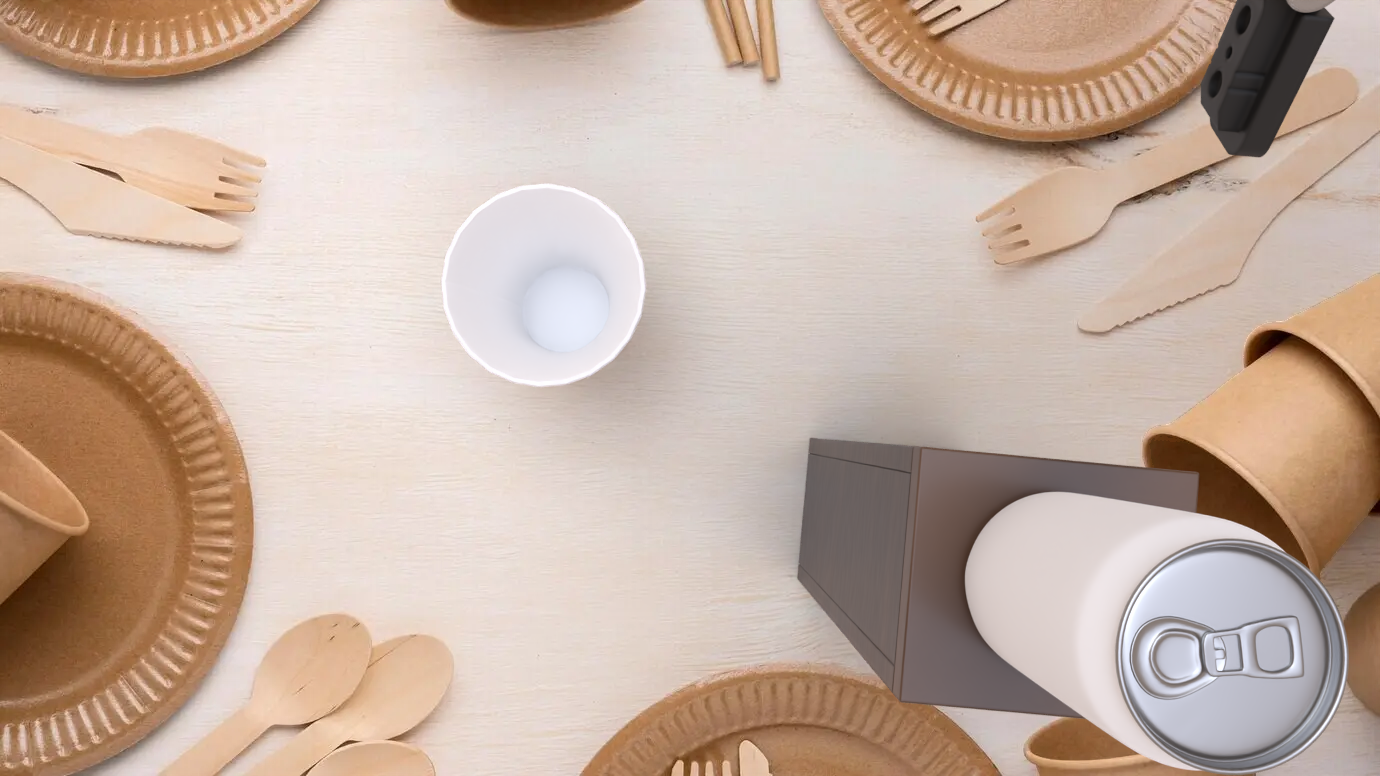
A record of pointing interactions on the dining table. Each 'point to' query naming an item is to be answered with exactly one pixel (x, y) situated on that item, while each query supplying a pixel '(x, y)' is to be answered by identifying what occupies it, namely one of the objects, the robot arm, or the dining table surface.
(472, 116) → the dining table surface
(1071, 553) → the can
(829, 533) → the shelf frame
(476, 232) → the cup
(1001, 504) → the shelf
